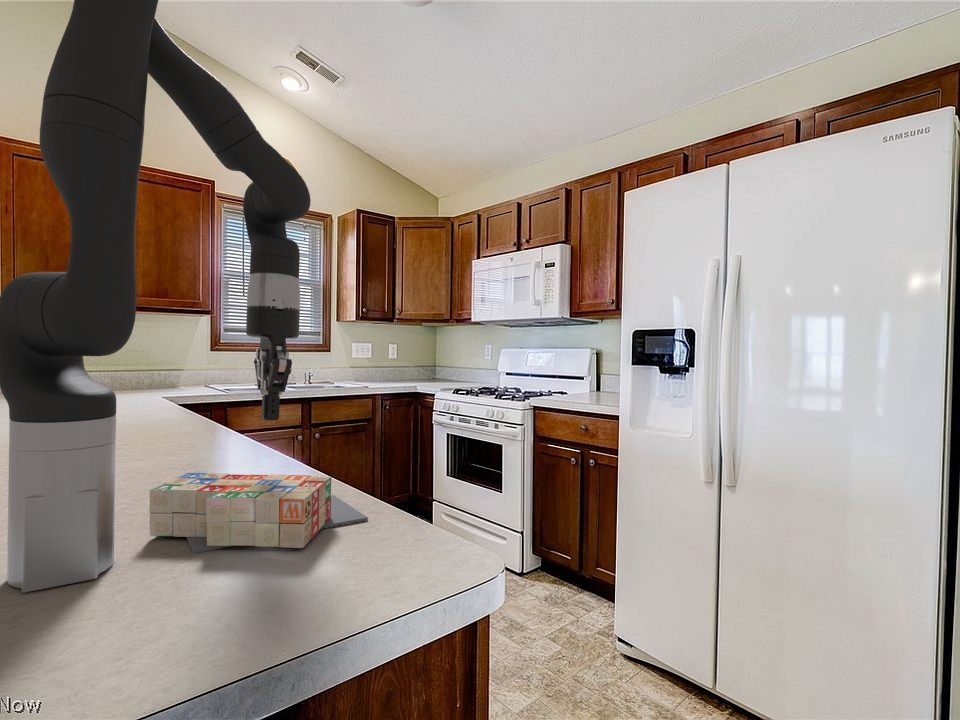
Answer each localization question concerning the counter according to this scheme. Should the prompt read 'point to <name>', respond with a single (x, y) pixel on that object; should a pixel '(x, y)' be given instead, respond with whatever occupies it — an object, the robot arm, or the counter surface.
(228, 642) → the counter surface
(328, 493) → the stack of blocks
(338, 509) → the mat
